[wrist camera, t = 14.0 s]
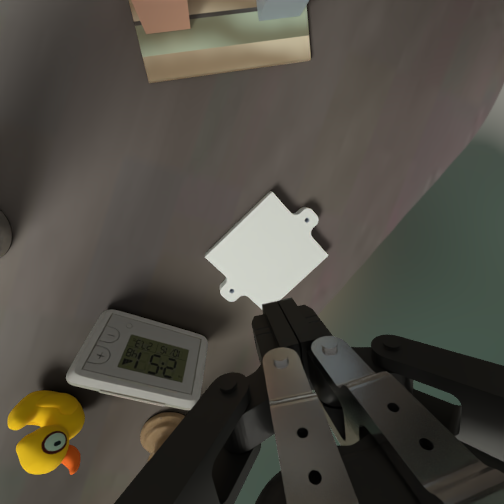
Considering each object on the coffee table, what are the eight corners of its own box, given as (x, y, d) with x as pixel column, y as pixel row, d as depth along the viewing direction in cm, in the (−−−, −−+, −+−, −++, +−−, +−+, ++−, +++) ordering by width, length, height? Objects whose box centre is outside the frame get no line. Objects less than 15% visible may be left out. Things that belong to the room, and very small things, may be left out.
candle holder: (152, 405, 46) (112, 576, 27) (201, 417, 48) (198, 582, 29) (134, 445, 48) (84, 632, 28) (182, 454, 50) (167, 633, 31)
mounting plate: (252, 317, 45) (254, 324, 43) (192, 265, 41) (192, 269, 39) (335, 240, 43) (341, 243, 41) (282, 178, 39) (285, 178, 37)
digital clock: (213, 337, 44) (216, 386, 34) (183, 378, 45) (176, 438, 35) (118, 287, 39) (88, 328, 29) (87, 335, 41) (48, 390, 31)
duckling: (110, 406, 45) (84, 469, 35) (90, 428, 45) (59, 496, 36) (43, 372, 41) (-6, 432, 32) (22, 396, 42) (-32, 462, 32)
